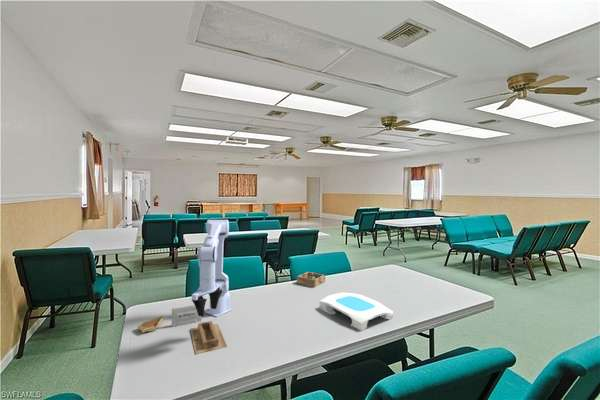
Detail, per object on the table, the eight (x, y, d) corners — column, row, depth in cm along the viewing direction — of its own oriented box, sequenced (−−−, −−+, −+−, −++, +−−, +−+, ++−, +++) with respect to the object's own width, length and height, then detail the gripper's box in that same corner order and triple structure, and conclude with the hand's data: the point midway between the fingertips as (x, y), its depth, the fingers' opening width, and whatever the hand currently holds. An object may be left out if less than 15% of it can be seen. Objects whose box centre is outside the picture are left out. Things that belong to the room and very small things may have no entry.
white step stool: (349, 301, 148) (349, 289, 148) (393, 322, 125) (394, 308, 125) (318, 310, 137) (318, 297, 137) (360, 335, 114) (360, 319, 113)
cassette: (171, 327, 118) (171, 309, 117) (171, 325, 119) (171, 308, 119) (201, 322, 123) (201, 304, 123) (201, 320, 125) (201, 303, 125)
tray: (217, 324, 120) (217, 317, 120) (227, 348, 102) (227, 340, 102) (190, 330, 116) (190, 322, 115) (195, 355, 98) (195, 347, 98)
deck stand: (307, 279, 185) (307, 271, 185) (325, 282, 178) (325, 275, 178) (296, 284, 175) (296, 276, 175) (314, 288, 167) (314, 280, 167)
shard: (163, 318, 124) (162, 314, 124) (171, 324, 120) (171, 320, 119) (136, 328, 116) (136, 324, 116) (144, 334, 111) (144, 330, 111)
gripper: (211, 271, 117) (211, 303, 117) (185, 281, 103) (185, 317, 104) (225, 273, 114) (225, 306, 114) (200, 284, 101) (200, 321, 101)
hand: (207, 312), depth 109 cm, fingers open, 7 cm apart
